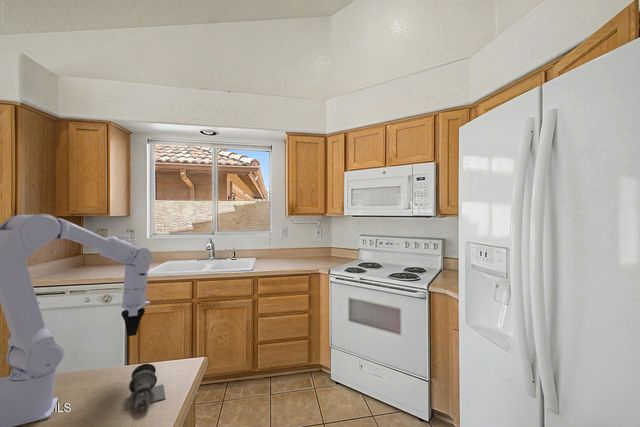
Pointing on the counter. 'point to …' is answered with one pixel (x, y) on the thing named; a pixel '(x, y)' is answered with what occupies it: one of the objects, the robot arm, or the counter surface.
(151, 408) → the counter surface
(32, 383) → the robot arm
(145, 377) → the dark grey chess piece
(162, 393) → the charcoal mat
